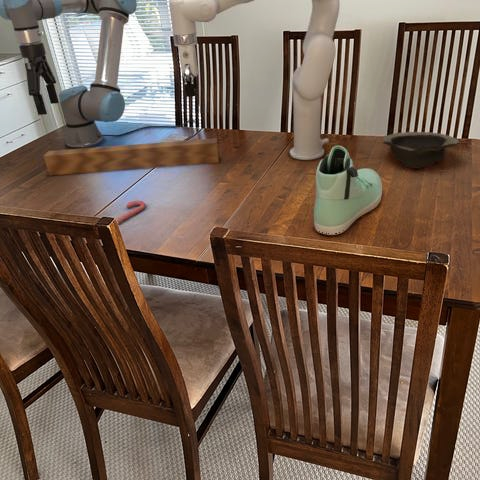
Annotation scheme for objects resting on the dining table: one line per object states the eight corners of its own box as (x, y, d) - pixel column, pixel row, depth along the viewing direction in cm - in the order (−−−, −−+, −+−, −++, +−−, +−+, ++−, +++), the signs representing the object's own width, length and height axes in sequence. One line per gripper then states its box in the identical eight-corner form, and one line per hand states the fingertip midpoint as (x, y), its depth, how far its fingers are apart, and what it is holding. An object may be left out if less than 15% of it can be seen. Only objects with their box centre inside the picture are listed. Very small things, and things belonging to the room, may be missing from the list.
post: (49, 175, 176) (43, 156, 172) (53, 170, 181) (47, 151, 177) (218, 162, 176) (216, 142, 172) (218, 157, 180) (216, 138, 176)
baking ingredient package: (151, 145, 194) (171, 134, 205) (151, 146, 194) (172, 135, 206) (169, 147, 190) (189, 136, 202) (170, 149, 191) (189, 137, 202)
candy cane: (99, 223, 142) (98, 218, 141) (136, 202, 152) (135, 198, 151) (113, 227, 139) (112, 223, 138) (149, 206, 149) (149, 202, 148)
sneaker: (389, 187, 148) (396, 123, 138) (356, 242, 123) (361, 168, 112) (346, 181, 154) (350, 119, 144) (306, 232, 129) (307, 161, 118)
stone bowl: (418, 179, 151) (419, 150, 147) (365, 160, 172) (365, 135, 167) (473, 159, 160) (476, 132, 156) (417, 144, 180) (418, 120, 176)
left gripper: (29, 49, 144) (48, 118, 155) (53, 36, 166) (69, 98, 177) (4, 51, 144) (25, 120, 155) (32, 38, 166) (49, 99, 177)
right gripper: (195, 43, 149) (201, 98, 158) (198, 34, 163) (203, 85, 172) (171, 45, 149) (179, 100, 158) (176, 36, 163) (182, 87, 172)
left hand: (49, 108), depth 166 cm, fingers open, 13 cm apart
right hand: (191, 92), depth 165 cm, fingers open, 9 cm apart
